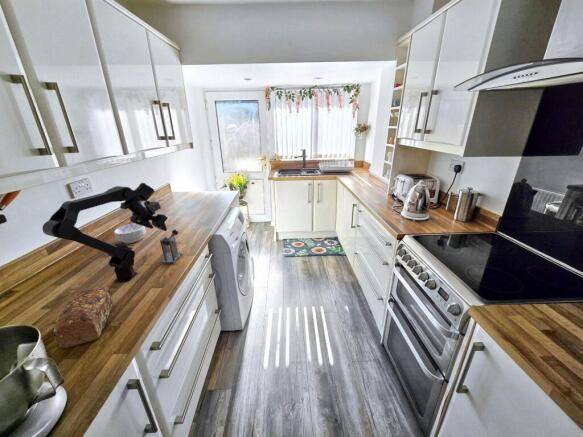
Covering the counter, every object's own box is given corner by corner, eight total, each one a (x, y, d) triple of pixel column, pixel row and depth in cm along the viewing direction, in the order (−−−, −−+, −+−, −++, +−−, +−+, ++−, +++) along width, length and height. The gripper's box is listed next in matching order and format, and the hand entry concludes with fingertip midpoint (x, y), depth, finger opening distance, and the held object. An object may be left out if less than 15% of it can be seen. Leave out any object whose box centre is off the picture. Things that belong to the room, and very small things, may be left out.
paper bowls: (125, 248, 133) (121, 235, 130) (112, 242, 140) (108, 230, 138) (152, 237, 145) (149, 225, 142) (139, 232, 152) (135, 221, 150)
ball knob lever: (174, 233, 125) (172, 228, 124) (180, 233, 125) (178, 228, 124) (164, 245, 116) (162, 241, 115) (170, 245, 116) (168, 240, 115)
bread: (101, 339, 75) (90, 315, 71) (58, 351, 71) (44, 326, 68) (116, 302, 91) (108, 280, 88) (82, 310, 88) (72, 288, 84)
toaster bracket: (170, 254, 124) (165, 234, 120) (182, 254, 124) (177, 234, 120) (161, 264, 116) (156, 242, 112) (173, 264, 116) (168, 242, 112)
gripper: (164, 197, 109) (182, 219, 121) (136, 194, 116) (156, 215, 128) (148, 215, 103) (169, 236, 115) (119, 211, 110) (142, 231, 121)
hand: (159, 229), depth 120 cm, fingers open, 9 cm apart
